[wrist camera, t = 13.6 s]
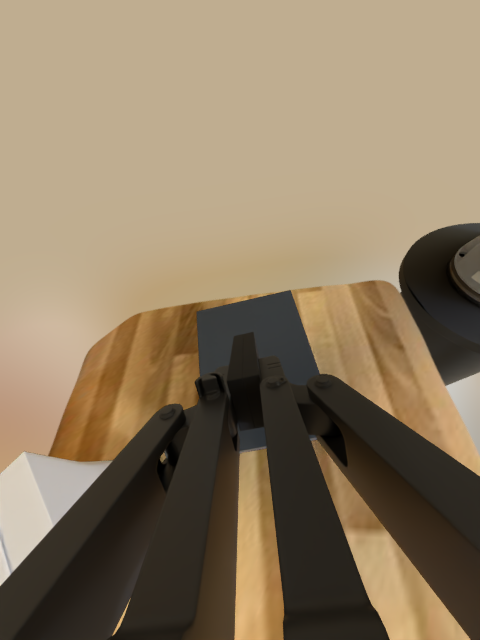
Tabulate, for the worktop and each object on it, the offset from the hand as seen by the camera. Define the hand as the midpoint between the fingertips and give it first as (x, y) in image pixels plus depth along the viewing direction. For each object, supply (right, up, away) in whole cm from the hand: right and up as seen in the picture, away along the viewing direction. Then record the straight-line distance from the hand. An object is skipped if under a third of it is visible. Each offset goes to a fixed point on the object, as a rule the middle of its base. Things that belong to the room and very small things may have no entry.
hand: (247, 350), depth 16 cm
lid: (+1, -3, +9) cm, 9 cm away
